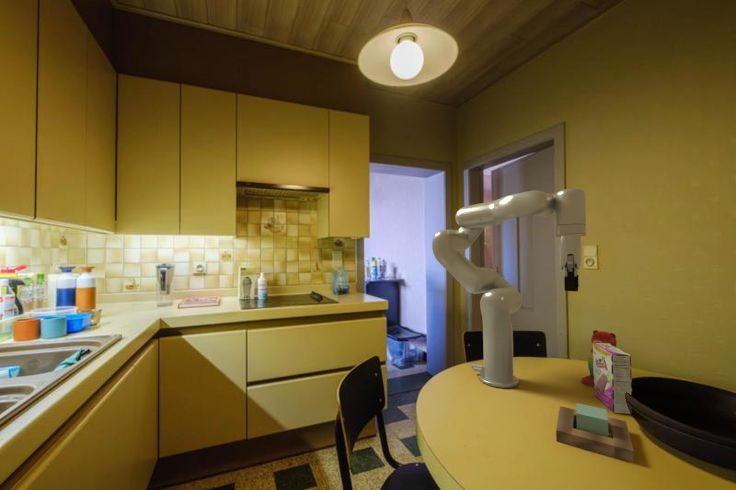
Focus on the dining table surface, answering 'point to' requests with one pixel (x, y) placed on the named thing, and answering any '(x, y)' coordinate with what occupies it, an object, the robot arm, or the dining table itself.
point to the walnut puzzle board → (595, 436)
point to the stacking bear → (596, 338)
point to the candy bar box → (612, 376)
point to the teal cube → (592, 420)
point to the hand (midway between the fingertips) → (571, 289)
